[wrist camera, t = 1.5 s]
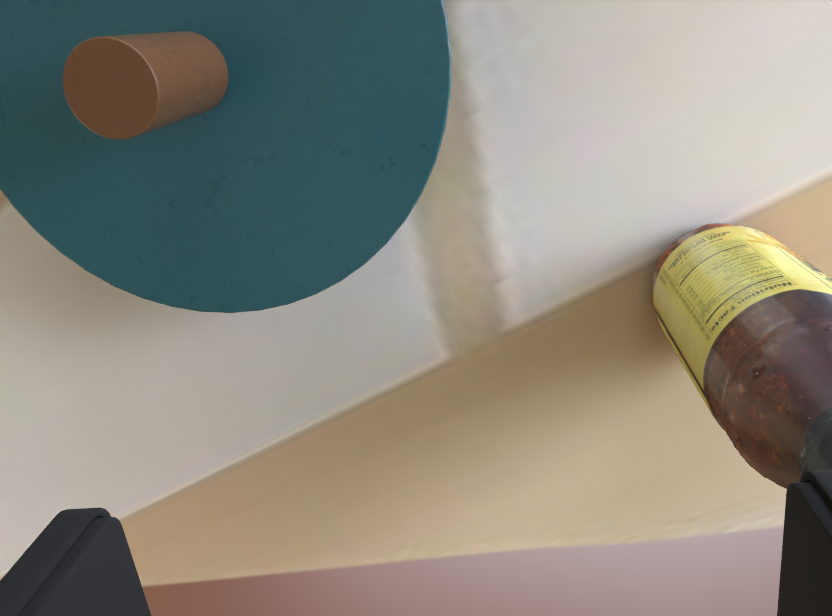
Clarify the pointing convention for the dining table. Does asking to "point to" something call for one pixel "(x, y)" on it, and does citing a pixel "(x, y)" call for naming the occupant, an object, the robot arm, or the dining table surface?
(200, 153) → the lid
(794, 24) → the dining table surface
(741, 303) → the sauce bottle
